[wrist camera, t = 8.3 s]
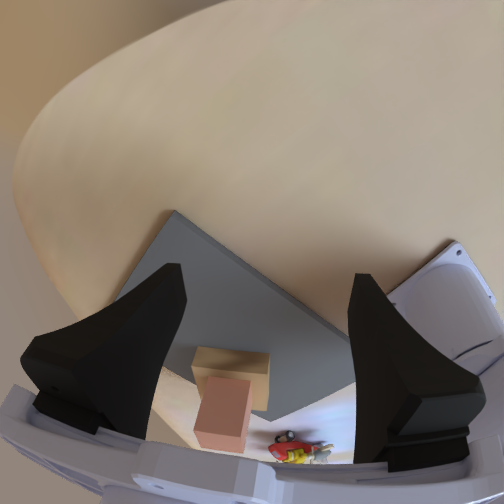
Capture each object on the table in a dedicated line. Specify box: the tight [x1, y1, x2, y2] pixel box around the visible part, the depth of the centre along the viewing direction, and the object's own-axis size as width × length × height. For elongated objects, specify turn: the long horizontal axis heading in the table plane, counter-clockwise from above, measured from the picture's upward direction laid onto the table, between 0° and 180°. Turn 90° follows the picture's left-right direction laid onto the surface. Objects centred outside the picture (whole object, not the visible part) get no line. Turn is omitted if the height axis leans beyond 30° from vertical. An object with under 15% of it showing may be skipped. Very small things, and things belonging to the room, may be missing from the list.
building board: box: [113, 211, 356, 422], centre depth 30 cm, size 24×17×1 cm
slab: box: [191, 346, 270, 411], centre depth 30 cm, size 7×7×2 cm
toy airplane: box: [268, 431, 334, 464], centre depth 38 cm, size 9×9×6 cm
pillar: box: [193, 376, 252, 454], centre depth 26 cm, size 4×4×6 cm
